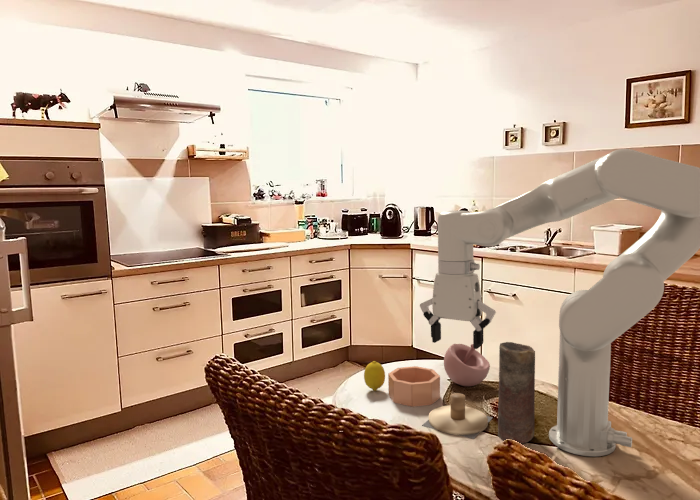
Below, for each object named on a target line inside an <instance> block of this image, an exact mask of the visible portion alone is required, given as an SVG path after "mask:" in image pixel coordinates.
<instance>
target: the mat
mask: <svg viewBox="0 0 700 500" xmlns="http://www.w3.org/2000/svg"><path fill="white" fill-rule="evenodd" d="M486 416H487V418H488V424H489V423H490V422H491V421H492V419H494V418H493V416H489V415H486ZM421 427H425V428H428V429H433V430H437V429H435V428H434V427H432V426H431V425H430V423H429V419H427V420H426V421H425V422H424V423H423V424H422V425H421ZM437 431H438V430H437ZM480 433H481V432H479V433H475V434H470V435H458V436H460V437H464V438H467V439H472V440H475V438H476V437H477V436H478V435H479V434H480Z"/></svg>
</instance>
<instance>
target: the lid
mask: <svg viewBox="0 0 700 500" xmlns="http://www.w3.org/2000/svg"><path fill="white" fill-rule="evenodd" d="M487 416H488V415H486V414H485V413H484V412H483V411H481V410H479V409H476V408H473V407H469V406H467V405H466V395H465V394H463V393H460V392H455V393H451V394H450V404H449V405H442V406H437V407H436V408H435V407H434V408H433V409H432V410H431V411H430V412H429V413H428V420H429V423H430V425H431V426H432V427H434V428H435V429H434V430H436V429H437V431H438V432H442V433H444V434H450V435H455V436H459V435H470V434H475V433H479V432H480V433H481V432H483V431H485V430H486V429H487V427H488V425H489V423H488V418H487ZM480 433H479V434H480Z"/></svg>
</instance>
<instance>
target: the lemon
mask: <svg viewBox="0 0 700 500" xmlns="http://www.w3.org/2000/svg"><path fill="white" fill-rule="evenodd" d="M363 379H364V383H365V385H366V386H367V388H370V389H372V391H374V392H375V391H377V390H378V389H380V388H381V387H382V386H384V384H385V381H386V380H385V379H386V372H385V369H384V366H383V365H382V364H381V363H379V362H377V361H376V360H373V361H372V362H370V363H368V364H367V365H366V367H365V369H364V371H363Z"/></svg>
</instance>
